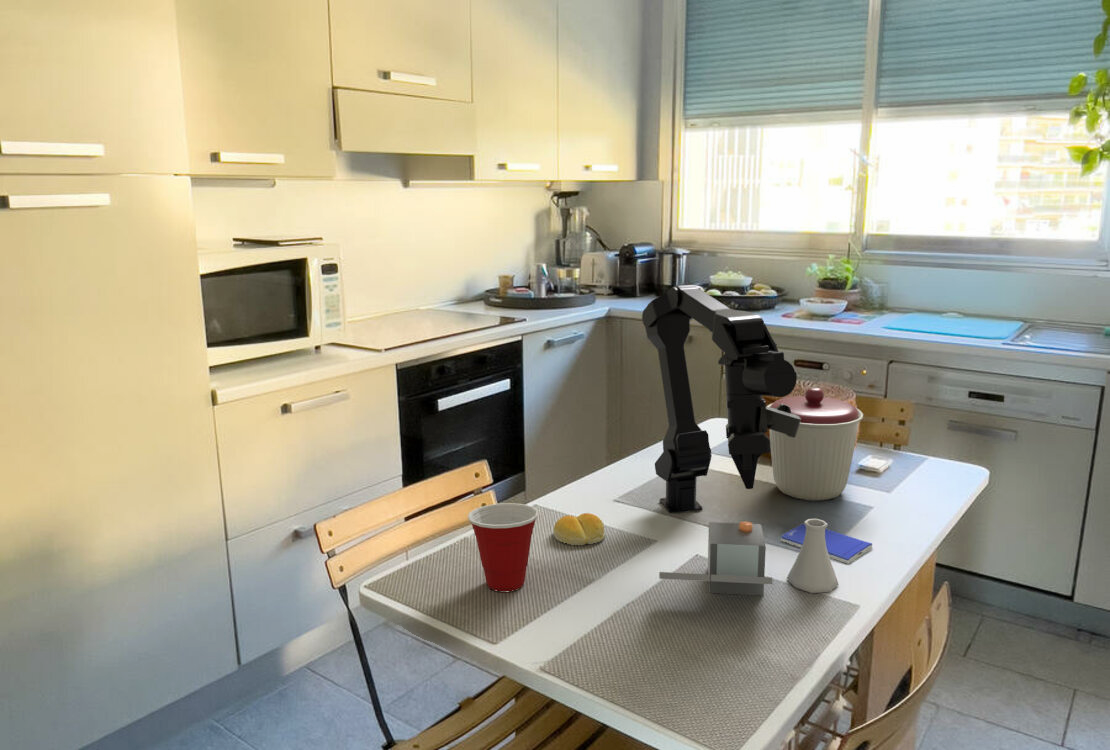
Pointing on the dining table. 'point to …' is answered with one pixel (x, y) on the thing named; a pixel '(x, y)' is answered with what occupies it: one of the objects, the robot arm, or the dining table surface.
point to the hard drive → (831, 543)
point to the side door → (715, 578)
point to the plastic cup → (504, 542)
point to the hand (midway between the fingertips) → (749, 488)
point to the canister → (815, 446)
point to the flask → (813, 561)
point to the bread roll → (579, 529)
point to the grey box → (736, 556)
